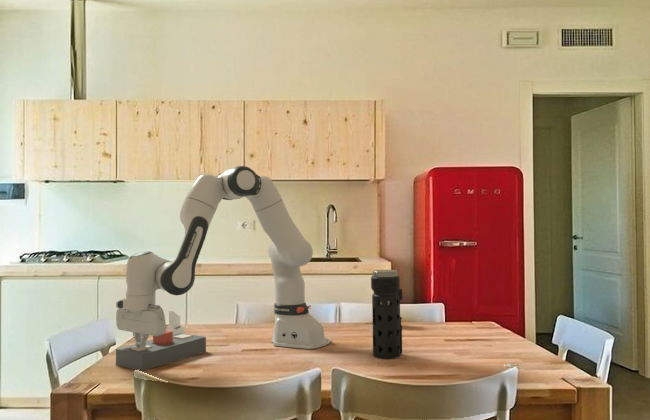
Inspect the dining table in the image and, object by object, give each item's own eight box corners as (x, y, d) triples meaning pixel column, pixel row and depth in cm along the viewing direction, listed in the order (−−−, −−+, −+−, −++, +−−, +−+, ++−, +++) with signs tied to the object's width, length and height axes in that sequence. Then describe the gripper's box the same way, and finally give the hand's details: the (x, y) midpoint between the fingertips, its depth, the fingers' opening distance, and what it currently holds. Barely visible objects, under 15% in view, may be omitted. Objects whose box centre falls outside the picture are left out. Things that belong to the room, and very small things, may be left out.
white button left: (151, 361, 158) (151, 346, 158) (139, 365, 154) (139, 349, 154) (142, 359, 160) (142, 344, 160) (130, 363, 156) (130, 347, 157)
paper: (529, 357, 162) (529, 354, 162) (547, 373, 145) (547, 369, 145) (451, 356, 164) (451, 352, 164) (460, 371, 147) (460, 368, 147)
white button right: (192, 349, 172) (192, 335, 172) (182, 352, 168) (182, 338, 169) (183, 348, 174) (183, 334, 175) (173, 351, 171) (173, 336, 171)
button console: (205, 351, 172) (205, 337, 172) (142, 371, 150) (142, 354, 150) (180, 346, 179) (180, 332, 179) (115, 364, 157) (115, 348, 157)
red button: (172, 346, 165) (172, 331, 165) (161, 349, 161) (161, 334, 161) (163, 344, 167) (163, 330, 167) (153, 347, 164) (153, 332, 164)
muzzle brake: (398, 350, 170) (368, 352, 168) (397, 269, 170) (367, 269, 169) (407, 358, 160) (376, 360, 159) (405, 271, 161) (375, 272, 159)
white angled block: (163, 333, 190) (168, 311, 195) (174, 340, 199) (179, 319, 203) (171, 333, 190) (177, 311, 194) (182, 341, 198) (187, 319, 203)
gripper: (170, 304, 155) (170, 348, 154) (129, 299, 166) (129, 340, 165) (154, 307, 149) (154, 353, 149) (112, 301, 160) (112, 344, 160)
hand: (140, 346), depth 157 cm, fingers closed, pressing on white button left
